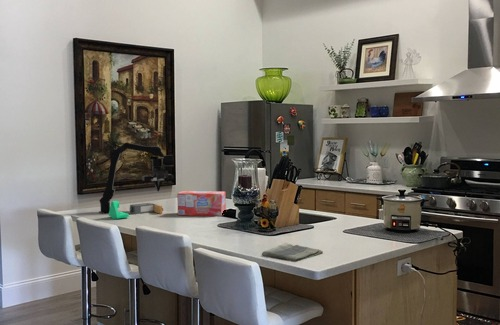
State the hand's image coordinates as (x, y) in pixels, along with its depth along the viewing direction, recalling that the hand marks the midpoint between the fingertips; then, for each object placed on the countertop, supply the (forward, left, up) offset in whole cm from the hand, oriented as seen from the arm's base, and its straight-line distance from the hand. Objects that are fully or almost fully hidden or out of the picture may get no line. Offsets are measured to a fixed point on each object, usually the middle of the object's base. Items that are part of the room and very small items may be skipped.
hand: (158, 191), depth 354 cm
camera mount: (+11, -30, -12) cm, 34 cm away
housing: (+1, -12, -12) cm, 17 cm away
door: (+10, -5, -12) cm, 16 cm away
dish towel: (+147, -12, -13) cm, 148 cm away
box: (+33, +12, -12) cm, 37 cm away
